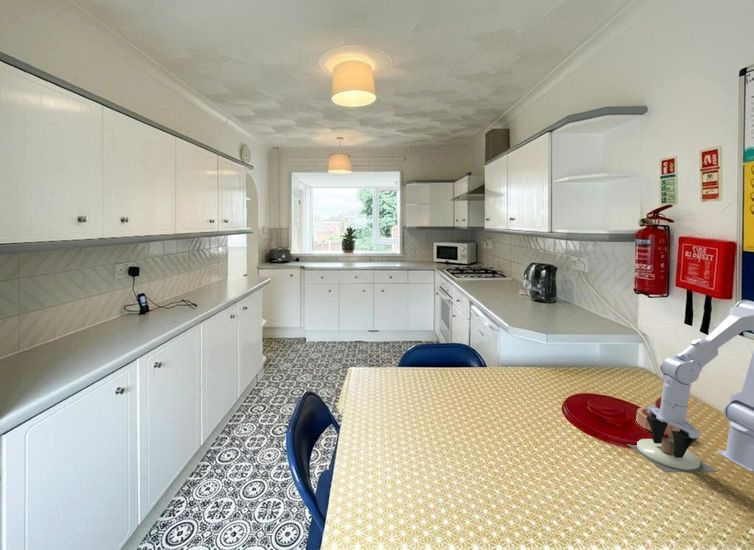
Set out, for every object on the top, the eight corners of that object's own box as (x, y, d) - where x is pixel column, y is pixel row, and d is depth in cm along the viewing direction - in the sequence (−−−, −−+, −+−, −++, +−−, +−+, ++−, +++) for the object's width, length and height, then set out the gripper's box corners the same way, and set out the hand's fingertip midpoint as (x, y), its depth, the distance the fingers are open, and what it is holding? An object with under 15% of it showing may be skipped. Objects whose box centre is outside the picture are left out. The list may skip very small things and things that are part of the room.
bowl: (693, 439, 117) (695, 425, 117) (656, 439, 116) (658, 425, 115) (660, 420, 129) (662, 407, 128) (627, 420, 128) (628, 407, 127)
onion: (678, 421, 129) (681, 398, 128) (659, 419, 130) (662, 396, 129) (669, 414, 135) (672, 391, 134) (650, 411, 136) (653, 389, 135)
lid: (714, 470, 100) (716, 454, 100) (664, 470, 99) (667, 454, 98) (668, 441, 114) (670, 427, 114) (624, 441, 112) (626, 427, 112)
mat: (717, 473, 100) (717, 471, 100) (664, 473, 98) (664, 471, 98) (668, 442, 115) (668, 440, 114) (621, 441, 113) (621, 440, 113)
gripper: (640, 391, 112) (634, 435, 113) (684, 414, 97) (677, 465, 99) (662, 391, 112) (656, 436, 114) (710, 414, 98) (702, 465, 99)
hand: (667, 449), depth 106 cm, fingers open, 6 cm apart
